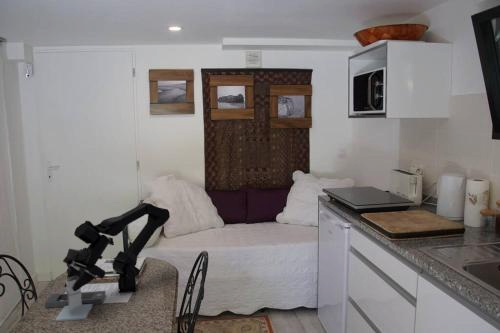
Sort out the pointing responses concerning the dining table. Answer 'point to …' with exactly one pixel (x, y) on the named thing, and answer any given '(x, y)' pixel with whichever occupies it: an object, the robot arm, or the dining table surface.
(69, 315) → the tile
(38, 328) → the dining table surface
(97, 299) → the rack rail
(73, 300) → the block
